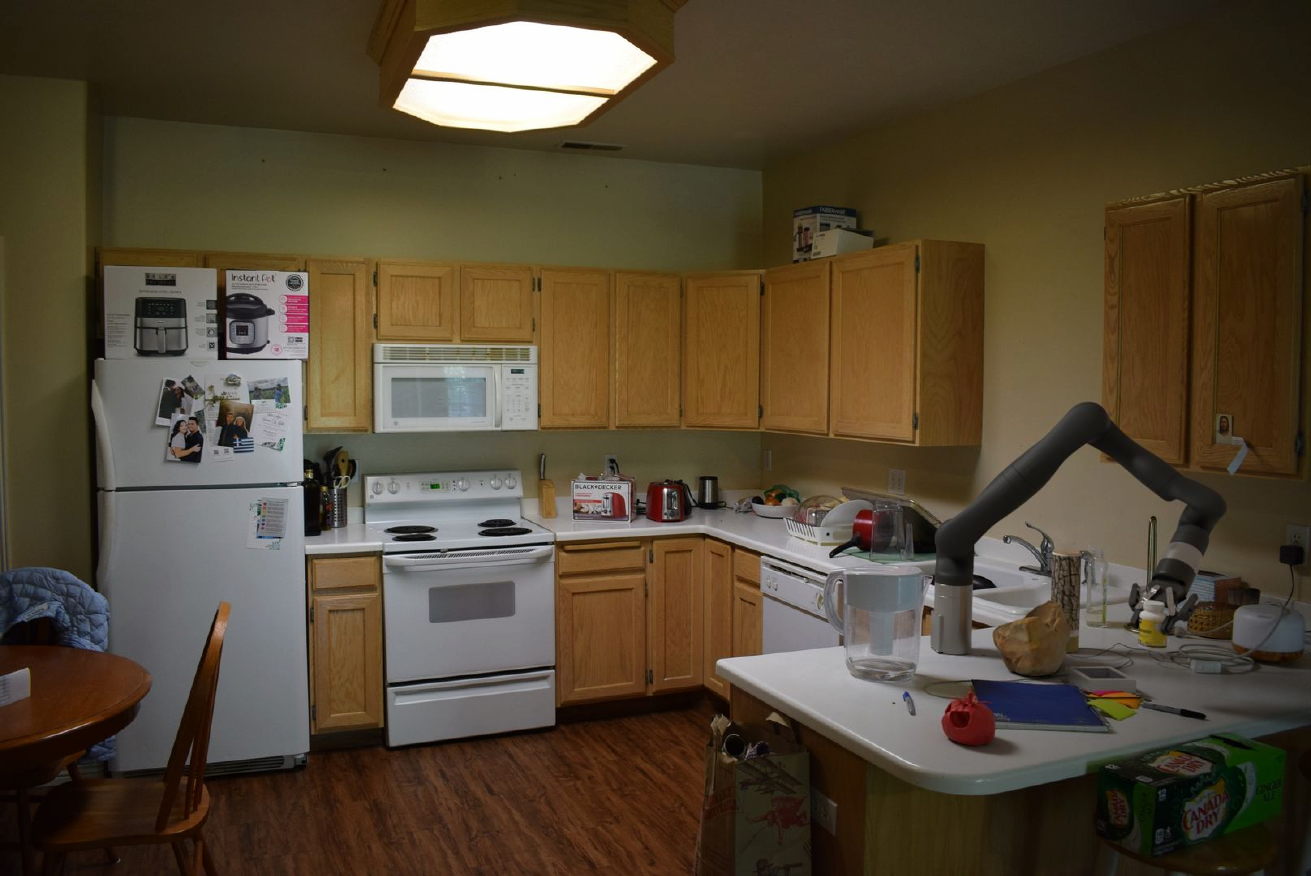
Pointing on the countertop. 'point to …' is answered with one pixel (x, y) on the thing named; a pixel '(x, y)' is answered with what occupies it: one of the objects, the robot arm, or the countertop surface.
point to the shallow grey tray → (1099, 679)
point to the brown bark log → (1067, 590)
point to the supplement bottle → (1152, 626)
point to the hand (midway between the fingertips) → (1149, 629)
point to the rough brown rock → (1034, 641)
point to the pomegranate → (969, 721)
